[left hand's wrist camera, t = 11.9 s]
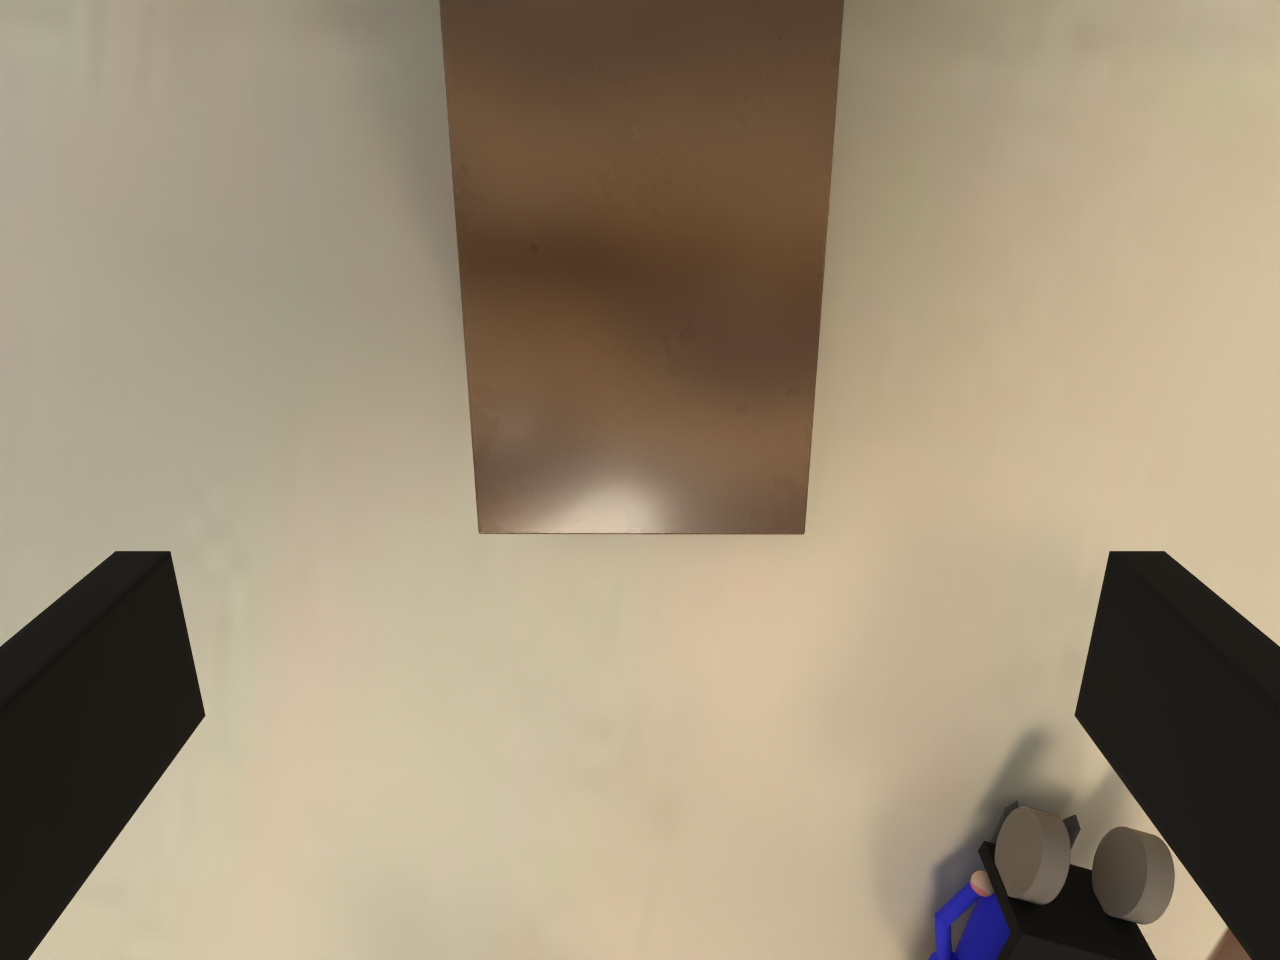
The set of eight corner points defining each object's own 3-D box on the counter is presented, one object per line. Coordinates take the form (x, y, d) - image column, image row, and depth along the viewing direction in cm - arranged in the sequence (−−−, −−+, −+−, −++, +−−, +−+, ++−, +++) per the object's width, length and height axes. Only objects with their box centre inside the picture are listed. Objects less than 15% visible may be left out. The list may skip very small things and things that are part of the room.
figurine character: (974, 741, 41) (864, 1002, 45) (1051, 853, 34) (912, 1154, 37) (1110, 773, 42) (990, 1028, 45) (1215, 891, 34) (1062, 1183, 38)
